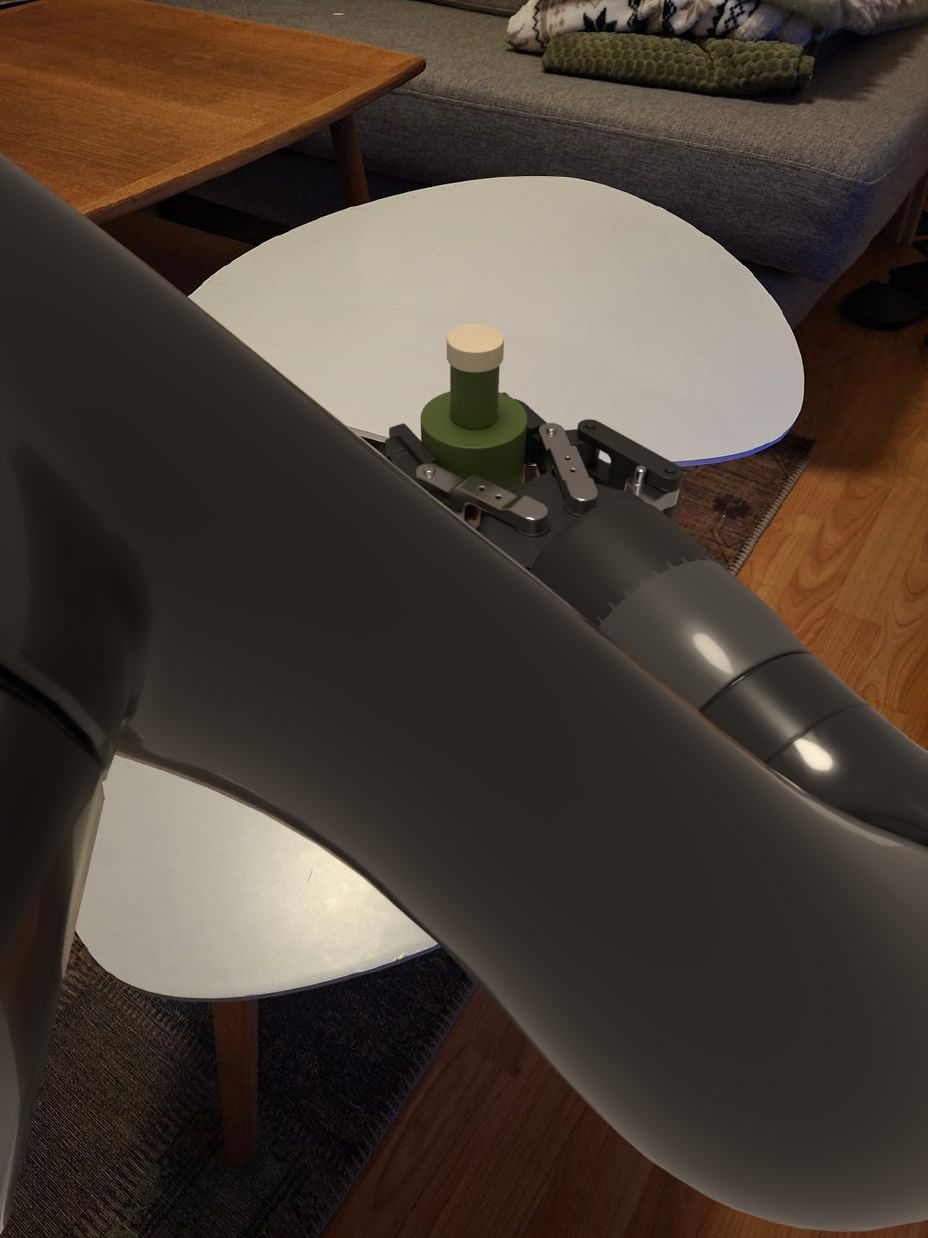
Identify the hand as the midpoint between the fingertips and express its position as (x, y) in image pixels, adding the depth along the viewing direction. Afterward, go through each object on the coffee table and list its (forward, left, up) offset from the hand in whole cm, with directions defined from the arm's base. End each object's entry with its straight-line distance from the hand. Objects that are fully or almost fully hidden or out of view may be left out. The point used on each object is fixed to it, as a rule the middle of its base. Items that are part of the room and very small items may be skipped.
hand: (446, 425), depth 44 cm
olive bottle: (0, -3, -7) cm, 7 cm away
